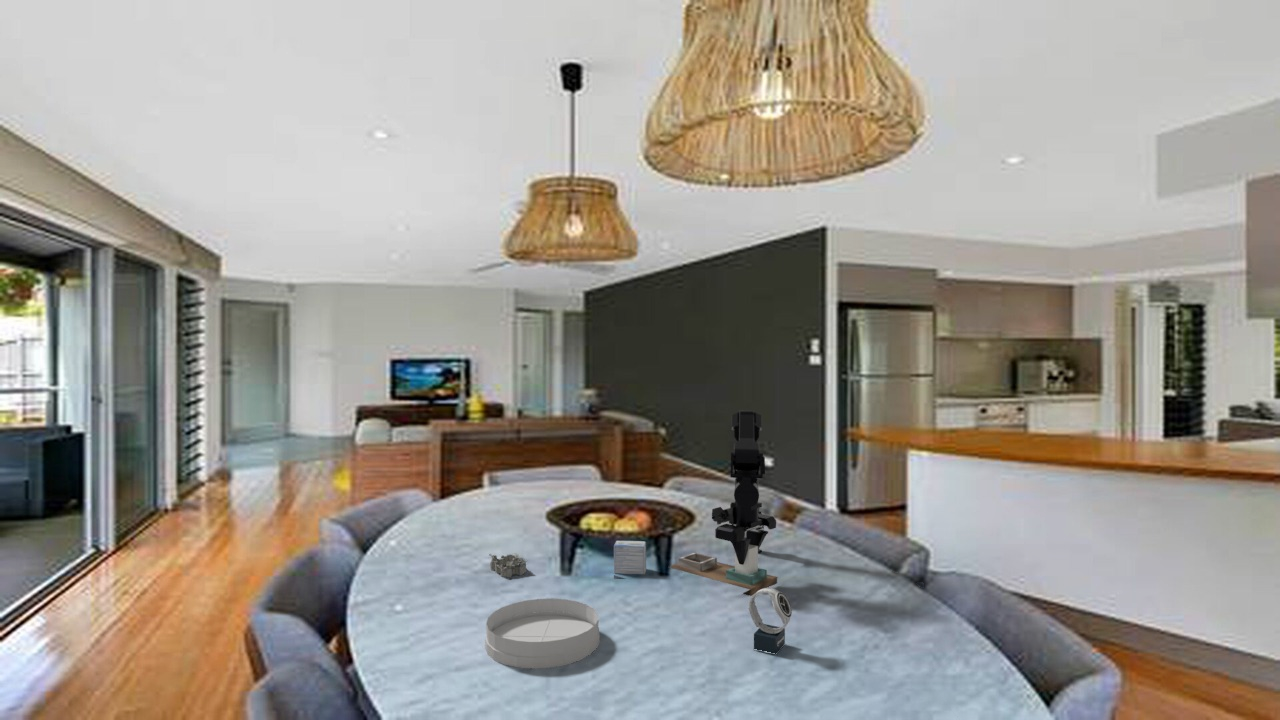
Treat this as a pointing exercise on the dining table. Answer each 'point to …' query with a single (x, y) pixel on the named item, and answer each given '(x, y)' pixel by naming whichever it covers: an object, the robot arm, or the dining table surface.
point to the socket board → (724, 572)
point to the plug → (748, 562)
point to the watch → (770, 635)
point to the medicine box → (629, 557)
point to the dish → (542, 633)
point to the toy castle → (508, 565)
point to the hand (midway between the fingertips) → (746, 562)
